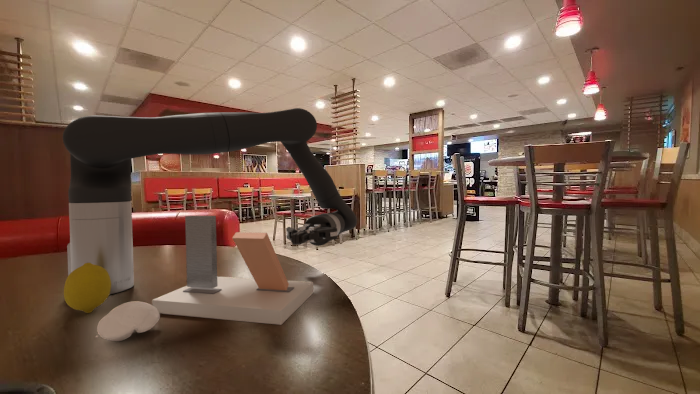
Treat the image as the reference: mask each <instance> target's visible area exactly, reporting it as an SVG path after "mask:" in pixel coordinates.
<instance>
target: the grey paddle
mask: <svg viewBox="0 0 700 394" xmlns="http://www.w3.org/2000/svg"><path fill="white" fill-rule="evenodd" d="M184 219H185V220H184V221H185V222H184V223H185V254H186V256H185V259H186V261H185V262H186V264H185V265H186V286H187V287H199V288H215V287H217V276H218V257H217V256H218V251H217V249H218V248H217V247H218V246H217V218H216V215H185V218H184Z"/></svg>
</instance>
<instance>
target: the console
mask: <svg viewBox="0 0 700 394" xmlns="http://www.w3.org/2000/svg"><path fill="white" fill-rule="evenodd" d="M287 281H288V283H289V285H288V288H287V290H273V289H259V287H258V285H257V284H256V282H255V280H254V278H253V277H252V278H251V277H248V278H247V277H235V276H233V277H230V276H218V275H217V287H215V288H199V287H187V285H185V286H181V287H180V288H177V289H175V290H173V291H170V292H168V293H165V294H163V295H161V296H159V297H155V298H153V299H152V300H151V305H152V306H154V307H155V308H156V309H157V310H158V312H159V314H161V315H162V314H163V315H174V316H185V317H195V318H205V319H215V320H226V321H227V320H228V321H239V322H248V323H249V322H250V323H260V324H268V325H269V324H270V325H271V324H272V325H278V326H281V325H283V324H284V323H285V322H286V320H288V319H289V318H290V317H291V316H292V315H293V314H294V313H295V312H296V311H297V310H298V309H299V308H300V307H301V306H302V305H303V304H304V303H305V302H306V301H307V300H308V299H309V298H310V296H312V295H313V294H314V282H313V281H304V280H302V281H301V280H288V279H287Z"/></svg>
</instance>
